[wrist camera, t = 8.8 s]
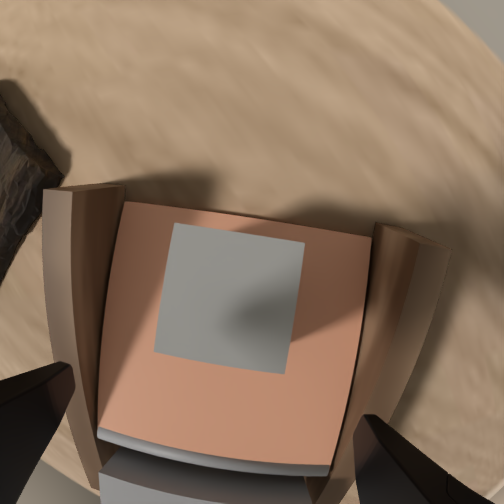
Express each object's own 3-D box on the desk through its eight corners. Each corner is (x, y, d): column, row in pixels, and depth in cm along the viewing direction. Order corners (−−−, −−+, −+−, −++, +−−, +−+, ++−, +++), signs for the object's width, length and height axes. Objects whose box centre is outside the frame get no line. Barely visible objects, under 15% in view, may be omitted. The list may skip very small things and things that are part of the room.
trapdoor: (357, 244, 22) (385, 230, 17) (304, 508, 19) (314, 545, 14) (138, 211, 22) (111, 190, 17) (112, 476, 19) (89, 506, 14)
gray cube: (287, 258, 19) (305, 242, 13) (273, 349, 18) (284, 374, 12) (196, 244, 19) (174, 222, 13) (182, 334, 18) (153, 351, 12)
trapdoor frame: (402, 227, 20) (452, 249, 13) (315, 475, 25) (322, 526, 19) (100, 183, 20) (43, 189, 13) (113, 443, 26) (91, 487, 19)
